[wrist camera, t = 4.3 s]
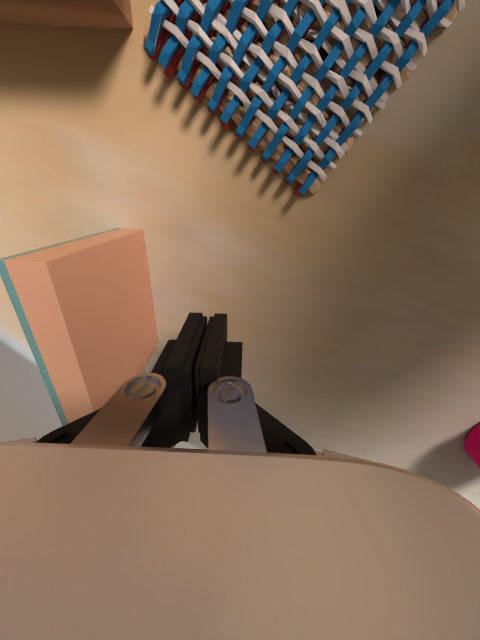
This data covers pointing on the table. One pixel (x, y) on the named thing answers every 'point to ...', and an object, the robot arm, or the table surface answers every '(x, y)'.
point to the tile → (85, 315)
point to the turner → (67, 13)
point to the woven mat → (312, 23)
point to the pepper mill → (474, 444)
